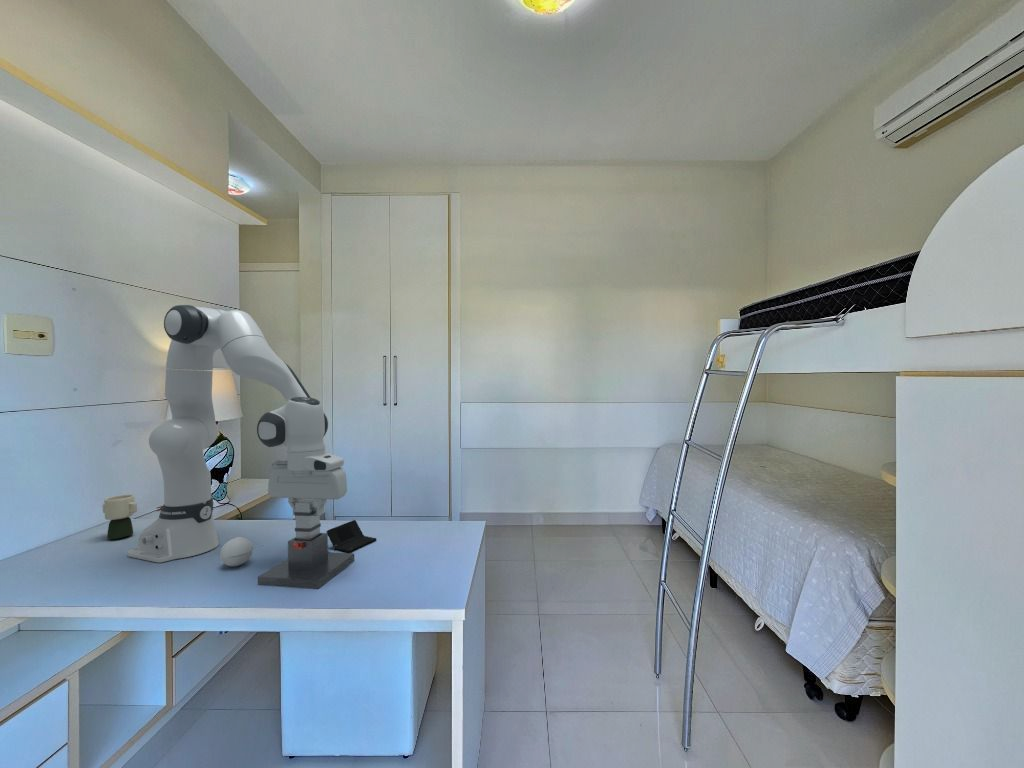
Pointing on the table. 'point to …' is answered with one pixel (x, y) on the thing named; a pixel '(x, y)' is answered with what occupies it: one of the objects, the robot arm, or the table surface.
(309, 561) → the stand base
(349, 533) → the handheld gaming console
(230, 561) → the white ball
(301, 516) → the column
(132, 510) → the character mug
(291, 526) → the table surface
